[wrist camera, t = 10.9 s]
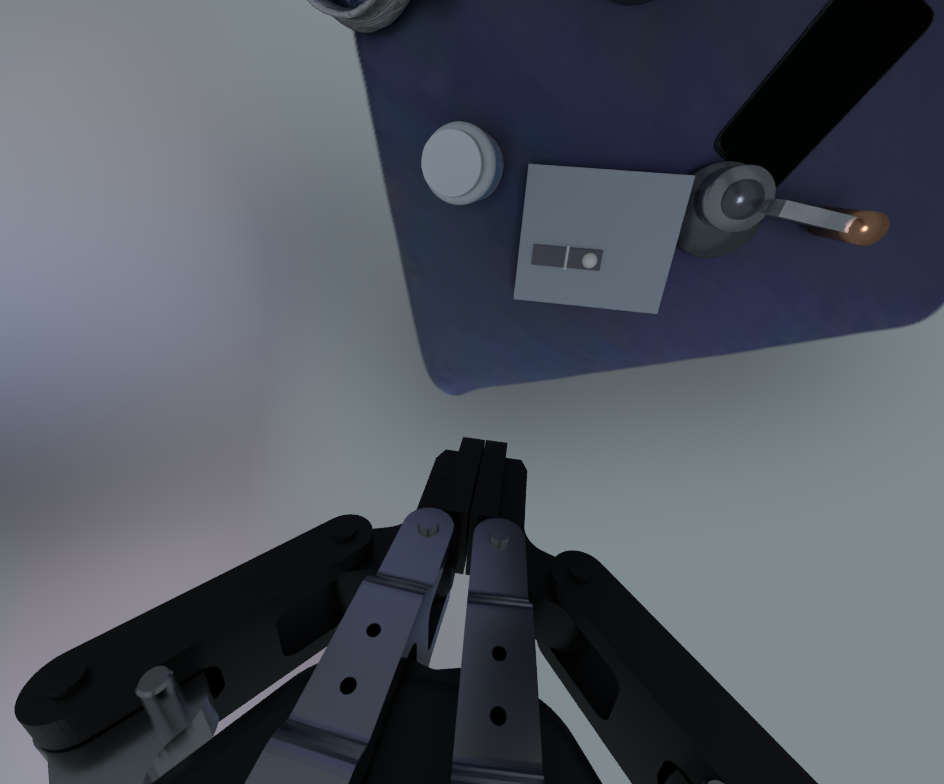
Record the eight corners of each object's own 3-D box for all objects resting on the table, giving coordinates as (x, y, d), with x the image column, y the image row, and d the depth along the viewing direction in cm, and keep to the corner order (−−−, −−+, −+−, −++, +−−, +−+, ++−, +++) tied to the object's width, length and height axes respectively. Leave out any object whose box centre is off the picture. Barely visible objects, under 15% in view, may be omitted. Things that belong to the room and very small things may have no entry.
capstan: (651, 243, 42) (672, 256, 35) (687, 152, 38) (719, 147, 31) (793, 278, 42) (843, 298, 35) (844, 190, 38) (911, 193, 31)
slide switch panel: (530, 164, 41) (528, 163, 36) (681, 175, 39) (700, 175, 35) (515, 289, 46) (512, 302, 41) (647, 302, 45) (660, 318, 40)
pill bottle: (514, 147, 40) (505, 138, 31) (488, 211, 43) (471, 221, 33) (457, 118, 40) (429, 99, 30) (434, 184, 43) (401, 186, 33)
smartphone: (765, 196, 40) (934, 19, 33) (770, 196, 39) (943, 15, 32) (707, 145, 39) (868, -49, 32) (710, 145, 38) (876, -54, 31)
